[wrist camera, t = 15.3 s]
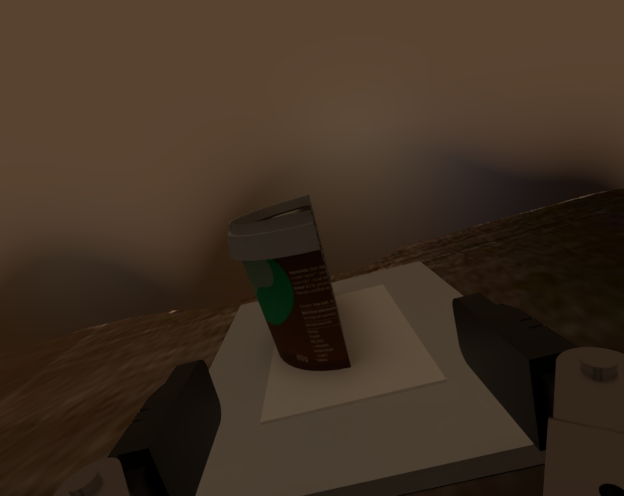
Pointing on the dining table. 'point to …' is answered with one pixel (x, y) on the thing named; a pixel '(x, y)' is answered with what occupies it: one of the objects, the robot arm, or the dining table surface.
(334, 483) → the dock
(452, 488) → the dining table surface
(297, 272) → the food container
